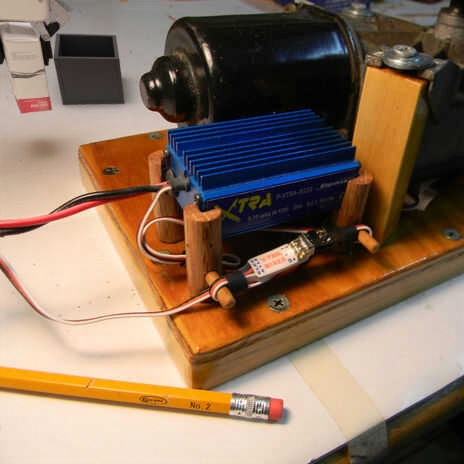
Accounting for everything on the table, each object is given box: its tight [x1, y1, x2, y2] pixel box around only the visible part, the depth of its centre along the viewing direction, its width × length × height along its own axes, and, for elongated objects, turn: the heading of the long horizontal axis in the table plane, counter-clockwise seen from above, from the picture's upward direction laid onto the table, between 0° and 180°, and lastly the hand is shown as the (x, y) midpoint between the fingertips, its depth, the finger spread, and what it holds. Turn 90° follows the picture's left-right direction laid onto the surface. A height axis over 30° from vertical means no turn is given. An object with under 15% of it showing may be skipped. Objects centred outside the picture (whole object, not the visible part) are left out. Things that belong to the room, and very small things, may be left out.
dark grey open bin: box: [53, 32, 125, 105], centre depth 102 cm, size 12×14×10 cm
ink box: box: [0, 21, 53, 115], centre depth 77 cm, size 9×5×12 cm, turn 33°
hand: (24, 60), depth 76 cm, fingers closed on ink box, 5 cm apart
